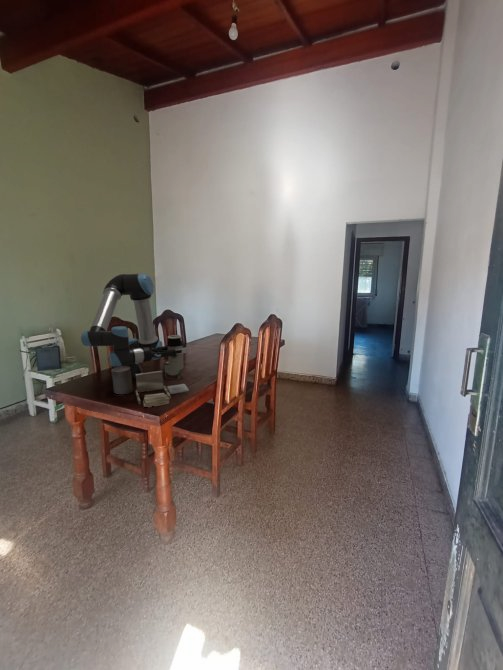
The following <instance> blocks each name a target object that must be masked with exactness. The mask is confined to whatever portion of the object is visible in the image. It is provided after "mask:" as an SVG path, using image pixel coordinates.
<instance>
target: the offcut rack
mask: <svg viewBox="0 0 503 670" xmlns="http://www.w3.org/2000/svg"><path fill="white" fill-rule="evenodd" d="M163 377H164V376H163V370H158V371H157V370H156V371H149V372H143V373H141V374H136V378H135V381H136V382H135V383H136V390H135V396H136V400H137V403H138V405H142V404H143V408H144V407H148V408H152V406H154V407H158V406H164V405H169V404H170V400H171V399H172V394H170V392H169V391H168V389H167V386H166V385H164V378H163ZM156 390H157V391H159V390H164V392H159V393H153V394H152V393H150V394H144V398H143V401H142V402H141V398H140V393H145V391H146V392H152V391H156ZM138 392H139V393H138Z"/></svg>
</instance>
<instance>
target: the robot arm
mask: <svg viewBox="0 0 503 670" xmlns="http://www.w3.org/2000/svg"><path fill="white" fill-rule="evenodd" d="M154 288H155V287H154V283H153V279H152V277H151V276H150V275H149V274H147V273H146V274H145V273H129V274H128V273H127V274H125V273H124V274H122V273H121V274H118V275H115V276H114V277H113V278H112V279H110V280H109V281H108V282H107V283H106V284H105V286H104V288H103V291H102V294H103V296H102V298H101V300H100V304H99V306H98V309H97V311H96V313H95V316H94V319H93V320H92V323H91V327H90V328H89V330H87V331H85V330H84V331H83V332H82V333H81V336H80V340H81V344H82V345H83V346H85V347H112V349H113V350H112V351H110V352H109V354H108V359H109V364H110V365H111V367H113V368H115V367H120V366H129V367H130V370H131V378H132V380H134V379H136V374H141V373H144V372H143V368H142V366H141V363H147V362H151V361H153V360H155V361H156V360H159V359H160V358H168V357H169V356H176V354H182V353H183V354H187V353H188V348H187V347H183V348H180V349H175V350H168V346H167V345H163V342H162V340H159V338H158V336H157V335H156V333H155V327H154V323H153V315H152V310H151V304H150V299H151V297H152V295H153V294H154V292H155V291H154ZM123 296H129V298H130V300H131V301H132V302H133V303H134V304H133V305H134V310H135V315H136V321H137V327H138V330H139V331H138V332H139V336H140V338H134V337H132V338H130V337H129V336H130V335H129V331H128V327H127V326H122V325H120V326H118V325H117V326H113V327H111V330H108V328H109V325H110V323H111V320H112V317H113V315H114V312H115V309H116V307H117V304H118V301H119V300H121V298H122V297H123Z"/></svg>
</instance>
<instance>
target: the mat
mask: <svg viewBox="0 0 503 670" xmlns="http://www.w3.org/2000/svg"><path fill="white" fill-rule="evenodd" d="M166 388H167V390H168V392H169V394H170V395H173V394H179V393H185V392H189V391H190V389H189V388H188V386H187V385H186V383H181V384H174V385H168V386H166Z"/></svg>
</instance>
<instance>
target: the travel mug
mask: <svg viewBox="0 0 503 670" xmlns="http://www.w3.org/2000/svg"><path fill="white" fill-rule="evenodd" d="M166 343H167V345H166V347H167V346H168V350H175V349H180V348H184V346H183V340H182V335H180V334H176V335H168V336H167V342H166ZM167 358H168V360H167V361H168V362H169V369H170V370H180V371H182V370H183V369H184V368H185V367H184V364H185V363H184V353H182V354H176V356H169V357H167Z"/></svg>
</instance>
